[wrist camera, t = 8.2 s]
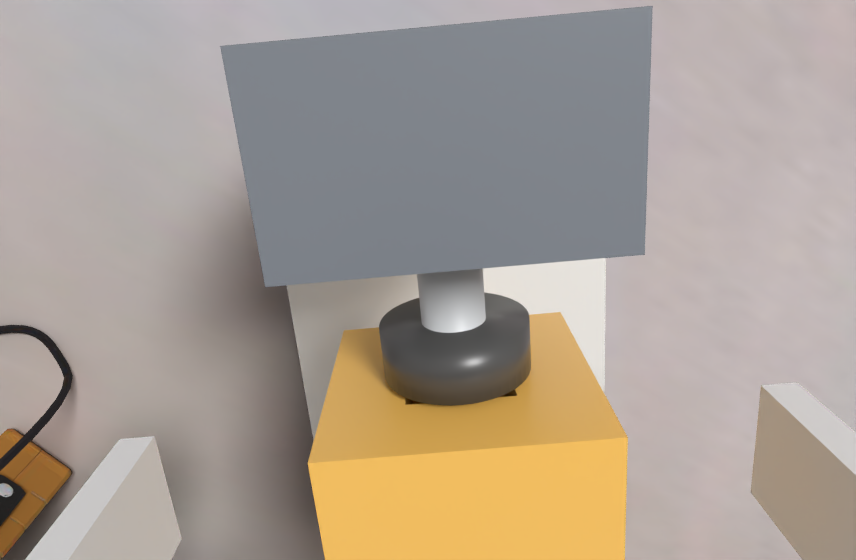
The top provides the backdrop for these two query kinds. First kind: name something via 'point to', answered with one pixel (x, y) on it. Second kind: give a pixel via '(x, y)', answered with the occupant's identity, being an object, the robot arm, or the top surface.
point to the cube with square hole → (470, 463)
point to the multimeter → (29, 461)
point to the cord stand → (446, 189)
